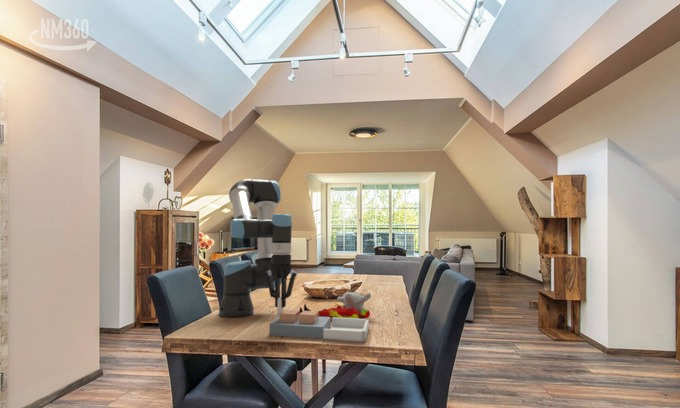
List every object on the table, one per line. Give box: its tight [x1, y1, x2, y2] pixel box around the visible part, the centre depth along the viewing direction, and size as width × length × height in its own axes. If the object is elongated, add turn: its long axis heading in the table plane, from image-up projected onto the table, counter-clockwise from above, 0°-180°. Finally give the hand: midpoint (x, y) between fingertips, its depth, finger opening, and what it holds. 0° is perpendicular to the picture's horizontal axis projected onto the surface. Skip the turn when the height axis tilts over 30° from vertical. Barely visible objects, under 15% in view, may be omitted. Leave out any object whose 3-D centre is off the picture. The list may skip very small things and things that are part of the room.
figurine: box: [299, 303, 371, 319], centre depth 155 cm, size 12×6×30 cm
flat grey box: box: [268, 317, 332, 340], centre depth 136 cm, size 20×14×4 cm
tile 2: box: [299, 310, 320, 323], centre depth 136 cm, size 6×6×3 cm
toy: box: [336, 291, 372, 313], centre depth 168 cm, size 12×10×30 cm
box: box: [323, 317, 370, 343], centre depth 133 cm, size 14×17×4 cm
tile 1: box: [280, 309, 300, 322], centre depth 137 cm, size 6×6×3 cm
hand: (280, 315), depth 138 cm, fingers closed
